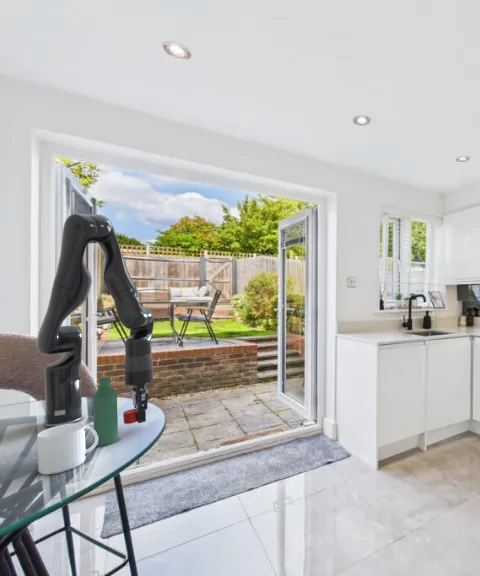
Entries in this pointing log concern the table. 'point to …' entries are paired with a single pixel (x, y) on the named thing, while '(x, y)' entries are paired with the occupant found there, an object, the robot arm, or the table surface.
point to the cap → (130, 416)
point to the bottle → (105, 412)
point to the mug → (63, 447)
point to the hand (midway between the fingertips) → (140, 420)
